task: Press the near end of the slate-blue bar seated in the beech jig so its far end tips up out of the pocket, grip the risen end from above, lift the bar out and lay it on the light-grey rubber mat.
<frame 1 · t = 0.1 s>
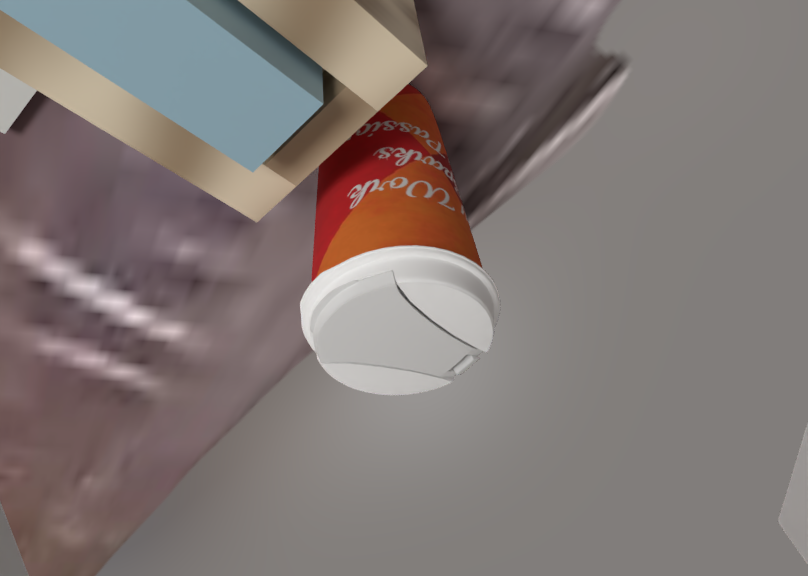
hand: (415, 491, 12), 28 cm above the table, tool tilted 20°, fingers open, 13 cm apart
coffee cup: (377, 122, 40), on the table
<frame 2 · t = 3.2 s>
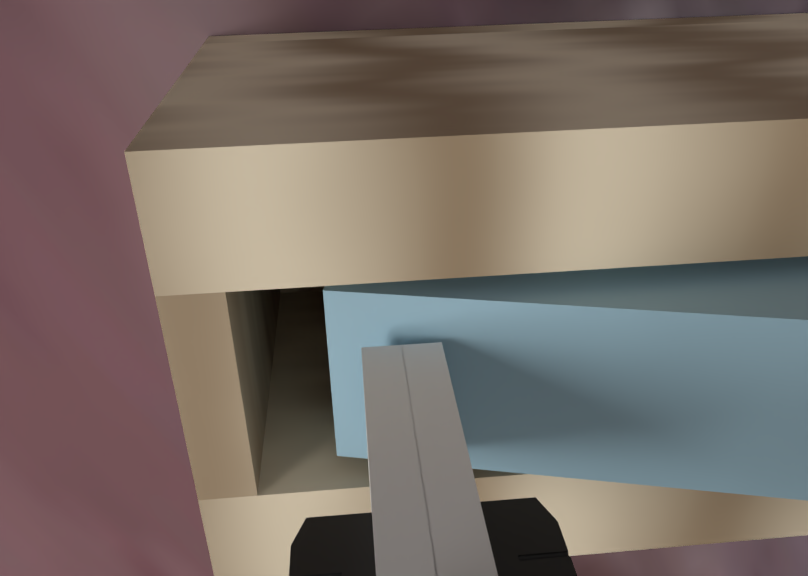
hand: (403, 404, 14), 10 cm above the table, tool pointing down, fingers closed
bar: (742, 304, 17), point 7 cm above the table, tilted 14°, touching jig
jig: (631, 187, 23), on the table
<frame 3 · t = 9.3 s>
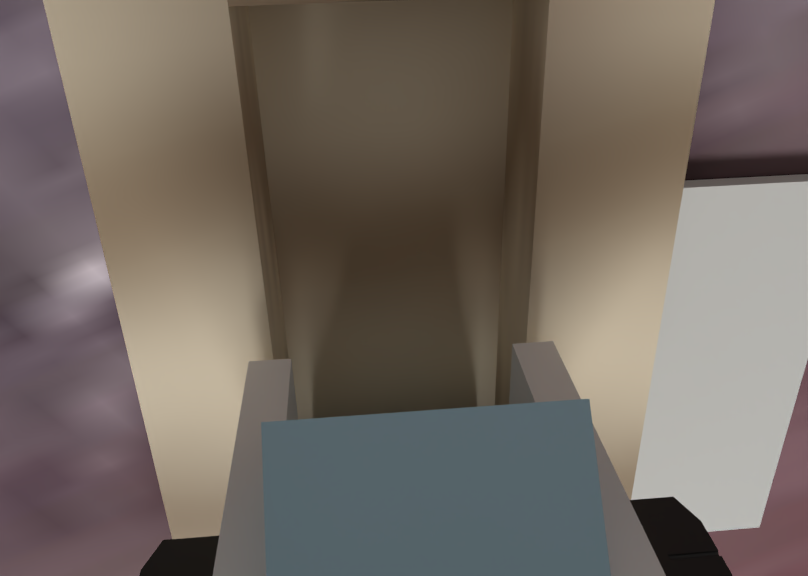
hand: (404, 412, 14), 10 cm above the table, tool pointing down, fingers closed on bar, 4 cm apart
mat: (687, 374, 27), on the table
bar: (397, 426, 17), point 8 cm above the table, tilted 50°, touching gripper, jig
jig: (379, 269, 24), on the table
when the fingers open (12 cm above the table, at t = 14.3 s): bar drops 9 cm, resting on mat.
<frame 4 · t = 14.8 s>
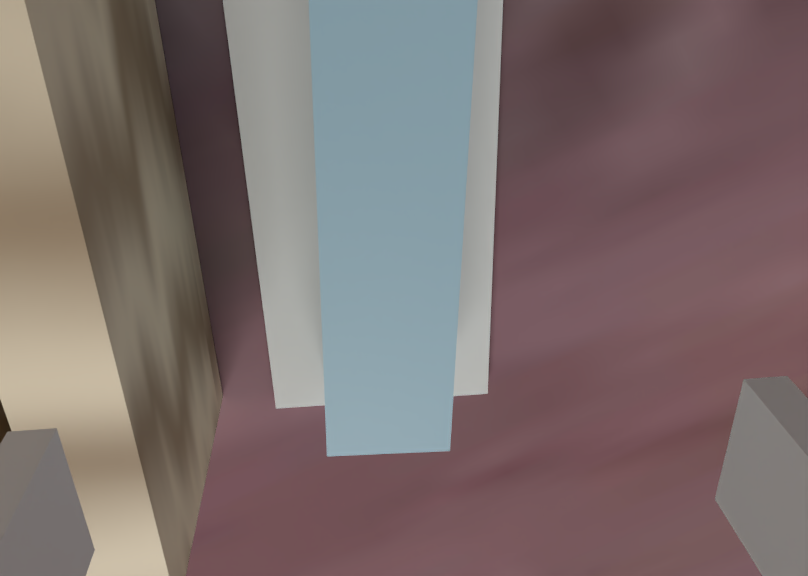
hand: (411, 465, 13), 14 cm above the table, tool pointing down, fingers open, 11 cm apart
mat: (373, 210, 25), on the table
bar: (382, 159, 24), point 1 cm above the table, touching mat
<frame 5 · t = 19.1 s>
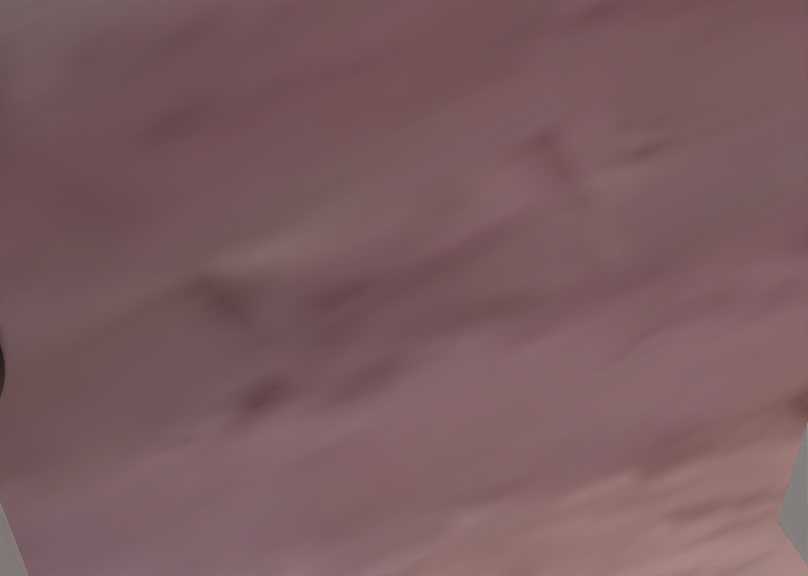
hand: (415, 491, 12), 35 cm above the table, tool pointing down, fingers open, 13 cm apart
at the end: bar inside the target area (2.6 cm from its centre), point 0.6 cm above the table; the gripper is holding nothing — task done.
